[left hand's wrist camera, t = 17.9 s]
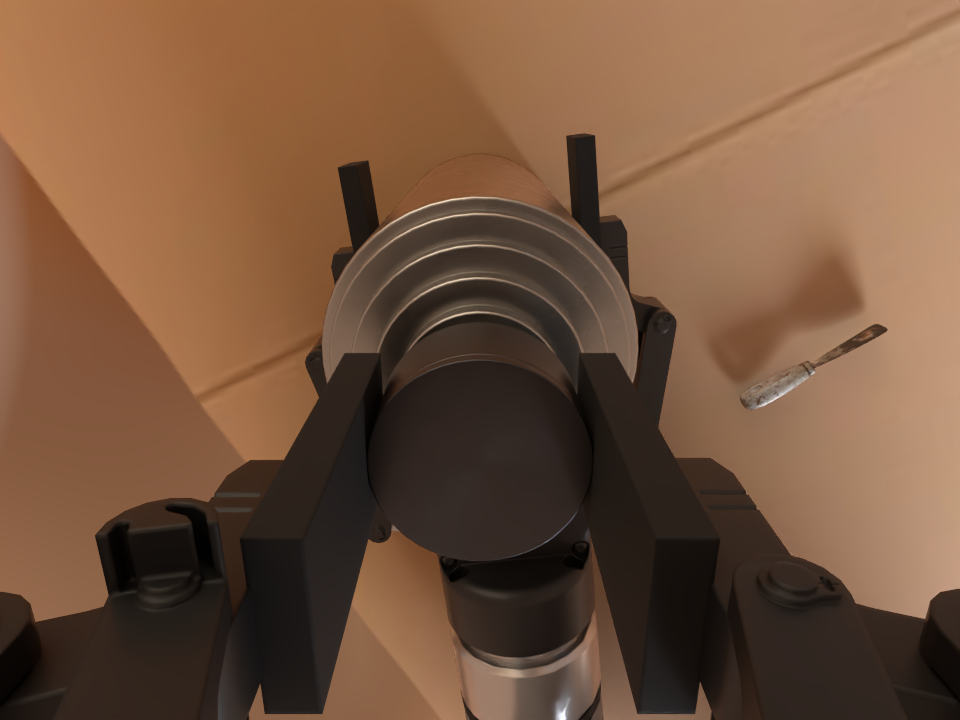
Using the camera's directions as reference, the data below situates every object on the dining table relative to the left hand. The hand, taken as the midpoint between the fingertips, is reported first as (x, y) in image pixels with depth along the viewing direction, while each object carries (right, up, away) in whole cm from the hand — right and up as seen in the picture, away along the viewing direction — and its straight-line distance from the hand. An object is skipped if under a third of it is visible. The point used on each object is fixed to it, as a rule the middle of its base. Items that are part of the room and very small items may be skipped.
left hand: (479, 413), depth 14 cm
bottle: (0, +7, +20) cm, 21 cm away
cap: (0, -1, -2) cm, 2 cm away
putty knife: (+18, +1, +22) cm, 28 cm away
